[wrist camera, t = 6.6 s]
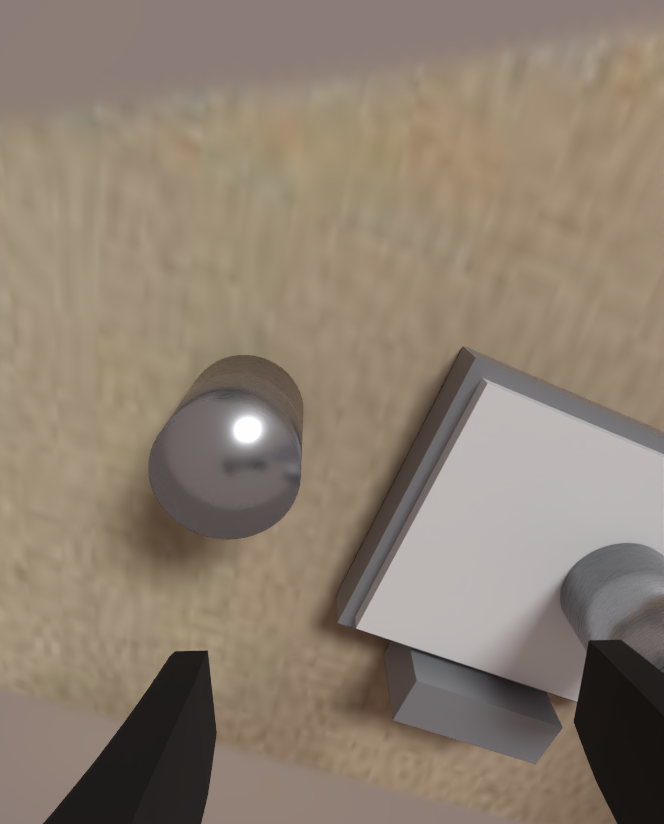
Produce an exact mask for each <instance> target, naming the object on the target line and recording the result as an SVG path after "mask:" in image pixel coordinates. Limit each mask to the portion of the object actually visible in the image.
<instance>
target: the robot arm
mask: <svg viewBox="0 0 664 824" xmlns="http://www.w3.org/2000/svg"><path fill="white" fill-rule="evenodd" d="M574 724H575V727H576V729H577V732H578V735H579V738H580V740H581V743H582V746H583V748H584V751H585V754H586V756H587V759H588V762H589V764H590V767H591V769H592V772H593V774H594V777H595V779H596V782H597V784H598V786H599V788H600V790H601V792H602V794H603V796H604V798H605V800H606V802H607V804H608V806H609V808H610V810H611V812H612V814H613V816H614V818H615V820H616V822H617V824H664V673H663V672H661V671H660V670H659V669H658V668H656V667H655V666H654V665H653V664H651V663H650V662H649V661H648V660H646V659H645V658H644V657H643V656H641V655H640V654H639V653H638V652H636V651H635V650H634V649H633V648H631V647H630V646H629V645H627V644H626V643H625V642H623V641H622V640H589V642H588V648H587V653H586V658H585V664H584V669H583V675H582V680H581V685H580V691H579V696H578V702H577V707H576V712H575V718H574ZM216 733H217V732H216V723H215V714H214V704H213V695H212V686H211V677H210V667H209V658H208V651H176V652H174V653H173V654H172V655H171V656H170V657H169V658H168V660H167V661H166V663H165V664H164V666H163V667H162V669H161V671H160V672H159V673H158V675H157V676H156V678H155V679H154V681H153V682H152V684H151V685H150V687H149V688H148V690H147V691H146V693H145V694H144V695H143V697H142V698H141V700H140V701H139V703H138V704H137V705H136V707H135V708H134V710H133V711H132V712H131V714H130V715H129V717H128V718H127V719H126V721H125V722H124V723H123V725H122V726H121V727H120V729H119V730H118V731H117V733H116V734H115V735H114V737H113V738H112V739H111V741H110V742H109V744H108V745H107V746H106V747H105V749H104V750H103V751H102V753H101V754H100V755H99V757H98V758H97V759H96V760H95V762H94V763H93V764H92V765H91V767H90V768H89V769H88V770H87V772H86V773H85V774H84V775H83V776H82V778H81V779H80V780H79V781H78V783H77V784H76V785H75V786H74V787H73V789H72V790H71V791H70V792H69V794H68V795H67V796H66V797H65V798H64V800H63V801H62V802H61V803H60V804H59V806H58V807H57V808H56V809H55V811H54V812H53V813H52V814H51V815H50V816H49V818H48V819H47V820H46V821H45V822H44V823H43V824H201V822H202V817H203V813H204V809H205V804H206V800H207V796H208V790H209V784H210V776H211V770H212V763H213V755H214V748H215V740H216Z"/></svg>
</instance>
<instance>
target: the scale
mask: <svg viewBox="0 0 664 824" xmlns="http://www.w3.org/2000/svg"><path fill="white" fill-rule="evenodd" d="M619 543H636V544H641V545H645V546H648V547H651V548H653V549H655V550H657V551H658V552H659V553H661V554H662V555H663V556H664V432H662V431H660V430H657V429H655V428H653V427H650V426H648V425H646V424H643V423H641V422H639V421H636V420H634V419H632V418H629V417H627V416H625V415H622V414H620V413H618V412H615V411H613V410H610V409H608V408H606V407H603V406H601V405H599V404H596V403H594V402H592V401H589V400H587V399H585V398H582V397H580V396H578V395H575V394H573V393H571V392H568V391H566V390H564V389H561V388H559V387H557V386H554V385H552V384H550V383H547V382H545V381H543V380H540V379H538V378H536V377H533V376H531V375H529V374H526V373H524V372H522V371H519V370H517V369H515V368H512V367H510V366H508V365H505V364H503V363H501V362H498V361H496V360H494V359H491V358H489V357H487V356H484V355H482V354H480V353H477V352H475V351H473V350H470V349H468V348H466V347H463V348H462V350H461V352H460V353H459V355H458V357H457V359H456V361H455V363H454V365H453V367H452V369H451V371H450V373H449V375H448V377H447V379H446V381H445V383H444V385H443V387H442V389H441V391H440V393H439V395H438V397H437V399H436V401H435V403H434V405H433V407H432V408H431V410H430V412H429V414H428V416H427V418H426V420H425V422H424V424H423V426H422V428H421V430H420V432H419V434H418V436H417V438H416V440H415V442H414V444H413V446H412V448H411V450H410V452H409V454H408V456H407V458H406V460H405V461H404V463H403V465H402V467H401V469H400V471H399V473H398V475H397V477H396V479H395V481H394V483H393V485H392V487H391V489H390V491H389V493H388V495H387V497H386V499H385V501H384V503H383V505H382V507H381V509H380V511H379V513H378V514H377V516H376V518H375V520H374V522H373V524H372V526H371V528H370V530H369V532H368V534H367V536H366V538H365V540H364V542H363V544H362V546H361V548H360V550H359V552H358V554H357V556H356V558H355V560H354V562H353V564H352V566H351V567H350V569H349V571H348V573H347V575H346V577H345V579H344V581H343V583H342V585H341V587H340V589H339V591H338V593H337V595H336V596H337V622H338V623H339V624H342V625H345V626H348V627H351V628H354V629H357V630H360V631H363V632H366V633H369V634H372V635H375V636H378V637H381V638H384V639H387V640H390V641H391V642H390V643H389V645H388V647H387V649H386V650H385V652H384V661H385V668H386V675H387V683H388V690H389V697H390V704H391V711H392V718H393V720H394V721H397V722H400V723H404V724H407V725H410V726H413V727H416V728H420V729H423V730H426V731H429V732H433V733H436V734H439V735H442V736H446V737H449V738H452V739H455V740H459V741H462V742H465V743H468V744H472V745H475V746H478V747H481V748H485V749H488V750H491V751H494V752H497V753H501V754H504V755H507V756H510V757H514V758H517V759H520V760H523V761H527V762H530V763H533V764H536V763H537V761H538V760H539V759H540V757H541V756H542V755H543V753H544V752H545V751H546V749H547V748H548V747H549V745H550V744H551V743H552V741H553V740H554V739H555V737H556V736H557V735H558V733H559V732H560V730H561V729H562V725H561V723H560V721H559V719H558V717H557V715H556V713H555V711H554V709H553V706H552V704H551V702H550V700H549V698H548V696H547V694H546V692H547V693H550V694H553V695H556V696H559V697H562V698H565V699H568V700H571V701H574V702H578V696H579V691H580V685H581V680H582V675H583V669H584V664H585V658H586V653H587V652H586V651H585V649H584V647H583V645H582V644H581V642H580V640H579V639H578V637H577V635H576V634H575V632H574V630H573V629H572V627H571V625H570V624H569V622H568V620H567V619H566V617H565V615H564V614H563V611H562V608H561V604H560V593H561V588H562V584H563V582H564V580H565V578H566V576H567V575H568V573H569V572H570V570H571V569H572V568H573V567H574V566H575V565H576V564H577V563H578V562H579V561H580V560H581V559H583V558H584V557H585V556H587V555H588V554H590V553H592V552H594V551H596V550H598V549H600V548H603V547H605V546H609V545H613V544H619Z"/></svg>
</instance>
